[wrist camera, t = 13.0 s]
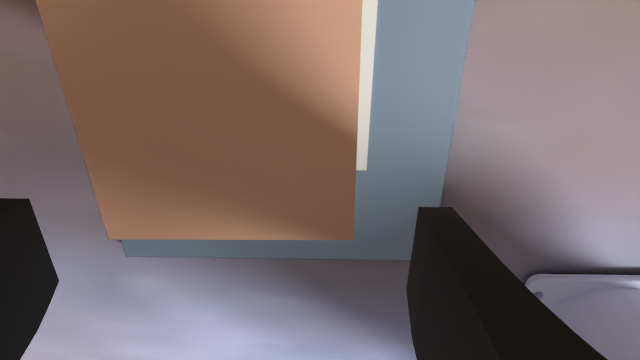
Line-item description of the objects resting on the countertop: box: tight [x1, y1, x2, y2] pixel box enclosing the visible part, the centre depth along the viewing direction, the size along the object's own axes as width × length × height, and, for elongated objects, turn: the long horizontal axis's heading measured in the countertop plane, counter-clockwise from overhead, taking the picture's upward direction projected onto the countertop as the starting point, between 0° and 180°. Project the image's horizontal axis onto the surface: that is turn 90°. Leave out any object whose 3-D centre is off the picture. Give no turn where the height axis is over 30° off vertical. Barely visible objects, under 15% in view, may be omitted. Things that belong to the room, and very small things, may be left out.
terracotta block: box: [36, 0, 362, 240], centre depth 10 cm, size 5×5×4 cm
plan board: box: [121, 0, 475, 260], centre depth 16 cm, size 20×13×1 cm, turn 0°
